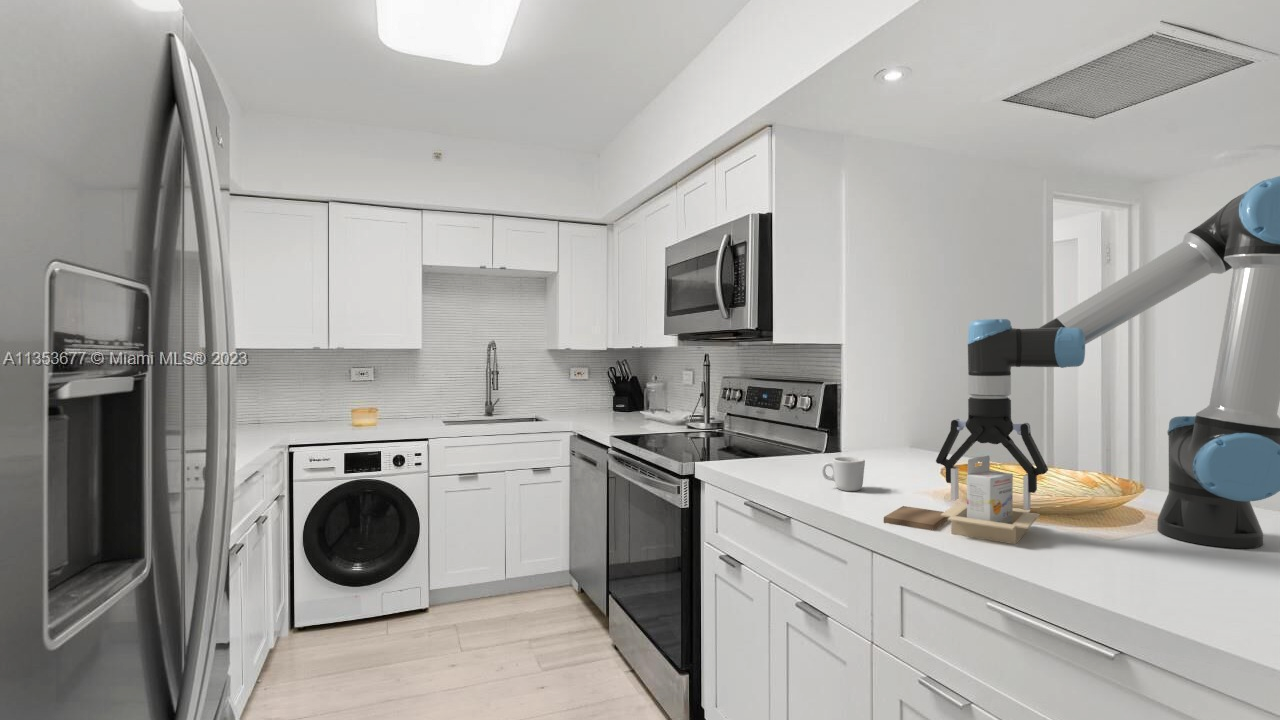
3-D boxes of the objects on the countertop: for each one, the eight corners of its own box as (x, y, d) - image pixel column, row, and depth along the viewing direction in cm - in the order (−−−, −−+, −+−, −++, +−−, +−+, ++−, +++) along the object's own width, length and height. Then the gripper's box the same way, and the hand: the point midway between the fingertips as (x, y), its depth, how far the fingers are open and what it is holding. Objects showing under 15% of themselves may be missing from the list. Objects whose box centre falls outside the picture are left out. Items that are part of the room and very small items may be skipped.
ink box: (991, 538, 124) (990, 462, 124) (966, 532, 129) (965, 459, 128) (1013, 531, 129) (1013, 457, 129) (988, 525, 133) (988, 454, 133)
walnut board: (950, 518, 139) (950, 512, 139) (933, 530, 130) (933, 524, 130) (903, 511, 146) (903, 505, 146) (883, 522, 137) (883, 516, 137)
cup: (820, 490, 168) (820, 460, 168) (823, 484, 175) (823, 455, 175) (864, 493, 164) (864, 462, 164) (865, 487, 171) (865, 457, 171)
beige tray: (1041, 528, 130) (1041, 511, 130) (1025, 549, 117) (1025, 530, 117) (960, 516, 140) (960, 500, 140) (936, 534, 127) (936, 517, 127)
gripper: (1064, 397, 123) (1065, 509, 124) (930, 393, 139) (931, 492, 140) (1058, 400, 118) (1059, 517, 118) (919, 395, 134) (920, 498, 134)
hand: (989, 504), depth 129 cm, fingers open, 12 cm apart
